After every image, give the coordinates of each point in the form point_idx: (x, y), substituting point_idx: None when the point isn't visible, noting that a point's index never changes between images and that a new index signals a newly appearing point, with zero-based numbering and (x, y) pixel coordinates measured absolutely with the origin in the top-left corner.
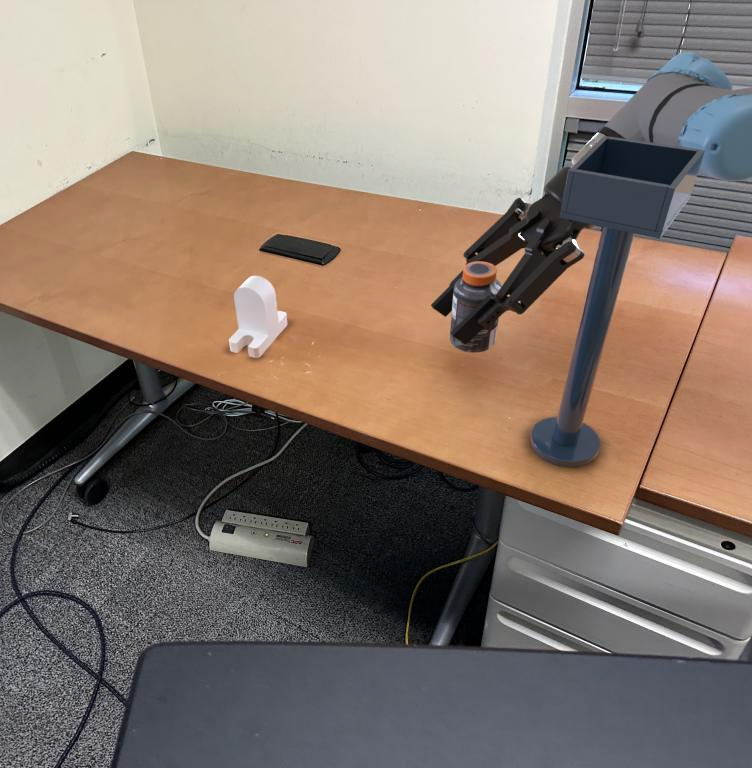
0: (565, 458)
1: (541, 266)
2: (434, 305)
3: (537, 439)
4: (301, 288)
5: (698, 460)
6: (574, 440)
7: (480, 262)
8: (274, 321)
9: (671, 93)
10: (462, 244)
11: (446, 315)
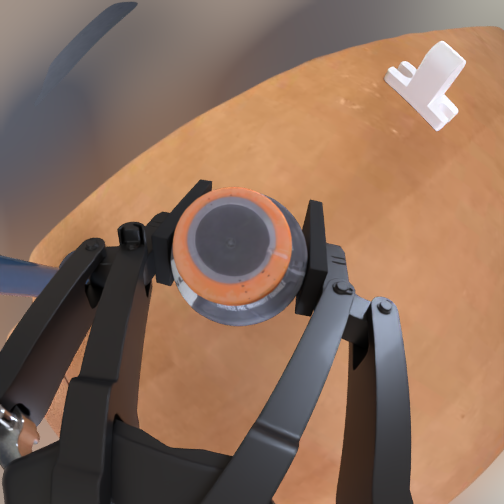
0: (63, 263)
1: (25, 338)
2: (312, 203)
3: None
4: (490, 183)
5: None
6: None
7: (268, 271)
8: (423, 93)
9: None
10: (481, 419)
11: None
